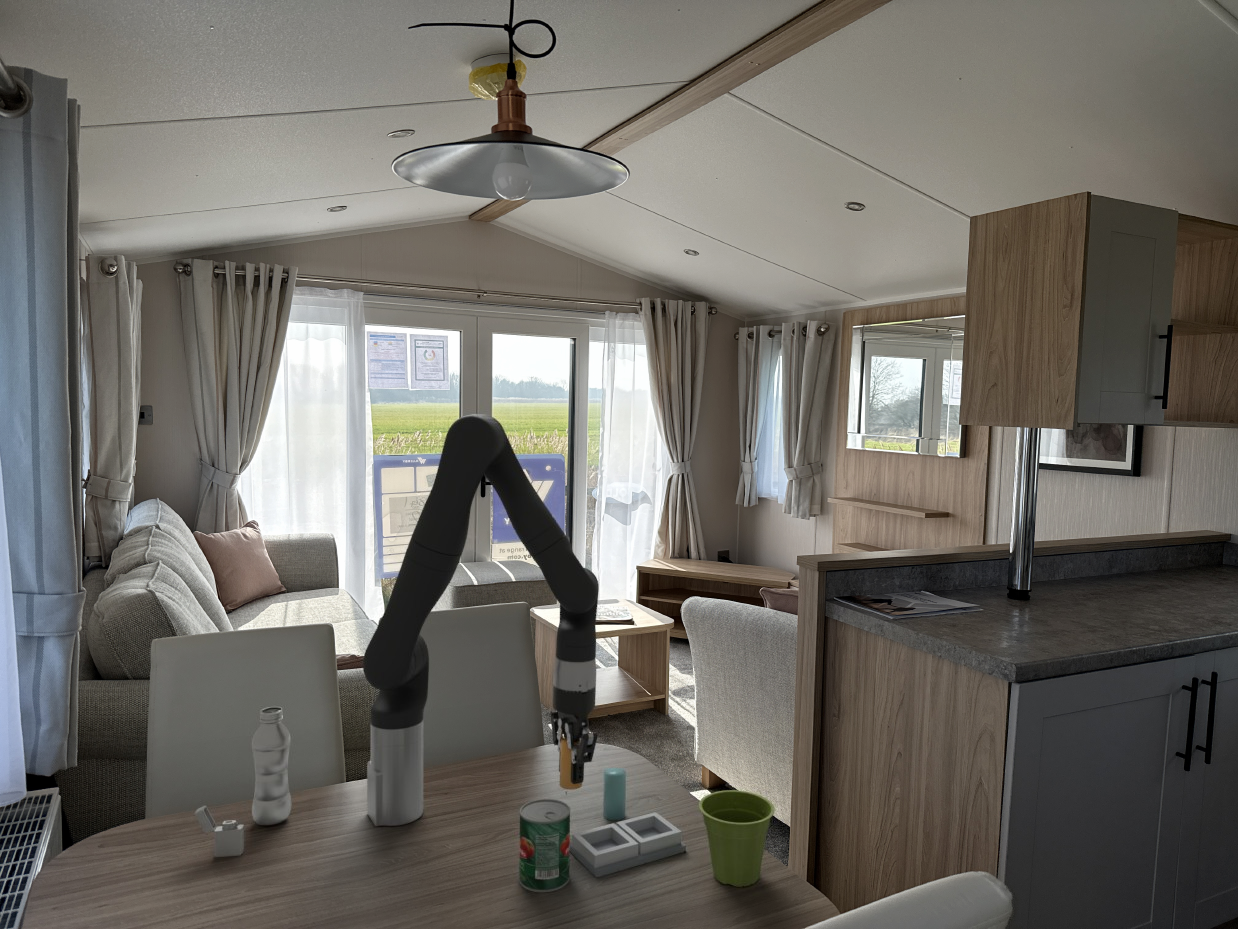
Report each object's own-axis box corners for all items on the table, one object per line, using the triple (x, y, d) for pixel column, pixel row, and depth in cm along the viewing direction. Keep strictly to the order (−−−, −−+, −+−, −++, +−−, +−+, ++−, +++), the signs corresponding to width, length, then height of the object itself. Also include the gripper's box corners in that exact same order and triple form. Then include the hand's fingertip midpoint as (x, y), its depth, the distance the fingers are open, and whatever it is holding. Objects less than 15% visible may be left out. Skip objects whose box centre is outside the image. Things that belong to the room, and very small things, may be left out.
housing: (596, 877, 130) (596, 859, 130) (567, 849, 139) (568, 831, 138) (685, 851, 138) (686, 833, 138) (653, 826, 147) (653, 809, 147)
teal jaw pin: (610, 822, 148) (610, 778, 148) (599, 813, 152) (599, 770, 152) (629, 817, 150) (629, 774, 150) (618, 808, 154) (618, 766, 154)
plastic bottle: (298, 813, 150) (298, 704, 149) (279, 831, 143) (279, 717, 142) (264, 811, 151) (264, 703, 150) (244, 829, 144) (243, 715, 143)
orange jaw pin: (565, 791, 144) (567, 746, 144) (555, 782, 148) (557, 738, 147) (586, 787, 146) (587, 742, 146) (575, 778, 150) (577, 734, 149)
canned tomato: (509, 876, 130) (509, 807, 130) (551, 860, 135) (552, 794, 134) (536, 899, 124) (536, 826, 123) (579, 882, 129) (580, 812, 128)
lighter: (244, 850, 137) (244, 802, 137) (241, 855, 135) (241, 807, 135) (197, 853, 136) (197, 805, 135) (194, 858, 134) (194, 810, 134)
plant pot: (728, 849, 139) (729, 783, 139) (788, 876, 131) (789, 806, 131) (682, 874, 131) (683, 804, 131) (742, 906, 123) (744, 831, 122)
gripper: (538, 673, 150) (534, 766, 151) (574, 697, 138) (570, 798, 139) (574, 668, 154) (571, 759, 155) (613, 691, 142) (609, 789, 143)
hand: (571, 777), depth 147 cm, fingers closed on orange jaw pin, 4 cm apart
